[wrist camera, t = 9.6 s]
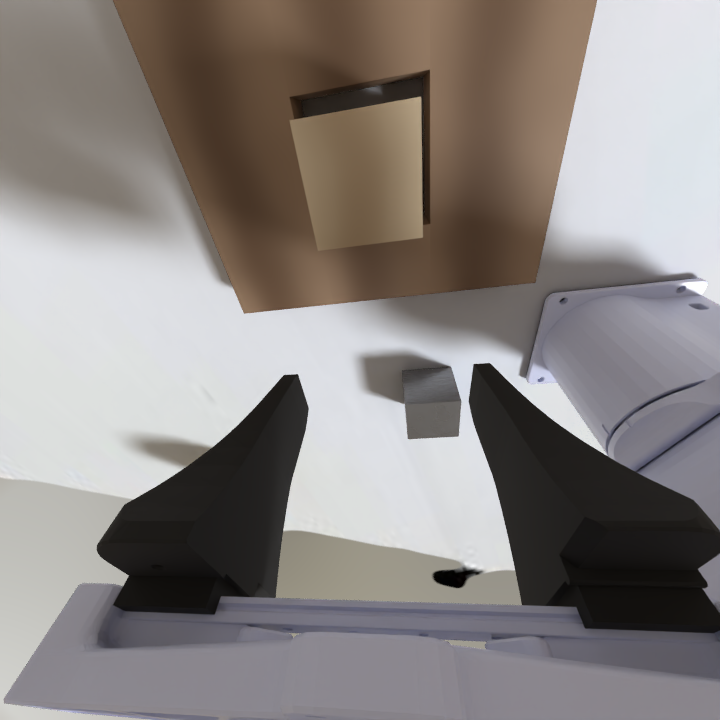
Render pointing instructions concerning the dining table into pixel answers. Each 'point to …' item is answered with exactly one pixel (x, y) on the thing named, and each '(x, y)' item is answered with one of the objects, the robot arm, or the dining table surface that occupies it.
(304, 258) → the hole board
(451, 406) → the brushed steel cube
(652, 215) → the dining table surface
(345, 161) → the long beech pin
